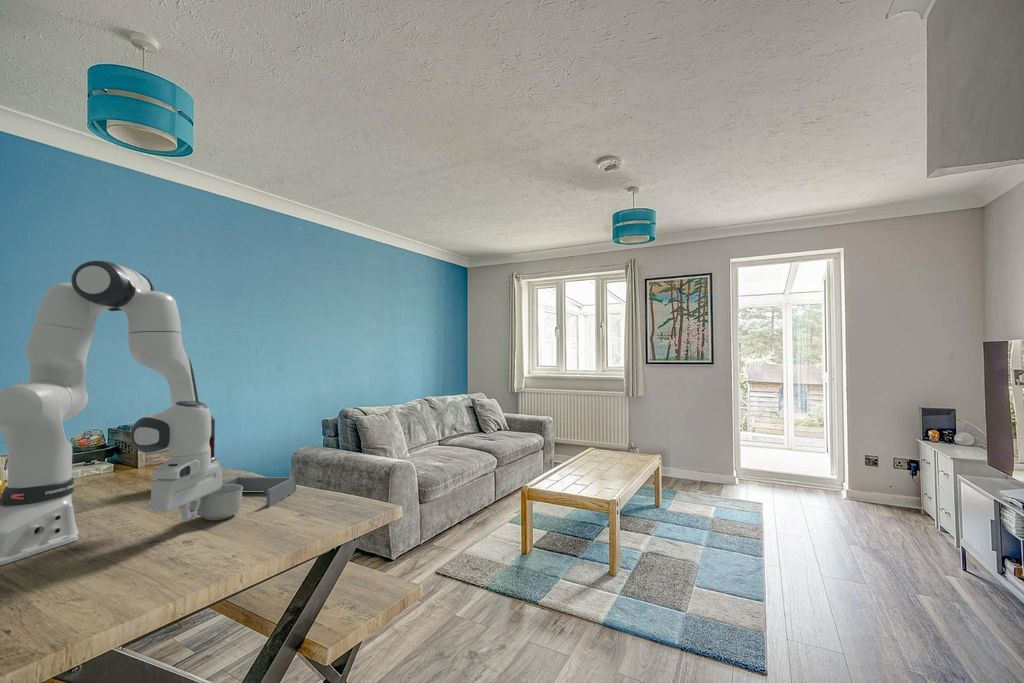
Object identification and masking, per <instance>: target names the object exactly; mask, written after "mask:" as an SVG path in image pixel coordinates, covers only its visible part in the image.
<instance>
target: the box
mask: <svg viewBox="0 0 1024 683" xmlns="http://www.w3.org/2000/svg"><path fill="white" fill-rule="evenodd" d="M222 484H238V485H241V486H242V487H243V490H242V491H264V492H267V493H266V504H265V505H266V506H271V505H273V504H274V505H276V504H277V502H278V501H280V500H282V499H283V498H285V497H287V496H288V495H290V494H292V493H294V492H295V491H296V490H297V477H296V476H236V477H234V478H231V479H228V480H226V481H222ZM296 492H297V491H296ZM294 494H295V493H294ZM292 495H293V494H292ZM290 496H291V495H290ZM287 498H288V497H287ZM285 499H286V498H285ZM283 500H284V499H283ZM283 500H282V501H283ZM280 502H281V501H280ZM275 503H276V504H275ZM278 503H279V502H278ZM274 505H273V506H274ZM271 507H272V506H271Z"/></svg>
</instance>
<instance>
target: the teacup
mask: <svg viewBox="0 0 1024 683" xmlns="http://www.w3.org/2000/svg"><path fill="white" fill-rule="evenodd" d="M242 490H243V487H242V486H241V485H238V484H222V487H221V489H220V490H219V491H216V492H214V493H211V494H209V495H207V496H204V497H202V498H201V502H200V505H199V507H198V509H197V516H198V517H202V518H204V520H207V521H221V520H226V518H227V519H229V518H231V517H233V516H234V515H235V514H236V513H238V511H239V510H240V509H241V507H242V501H243V500H242V499H243V493H242ZM190 504H191V503H190ZM189 507H190V506H189ZM189 507H188V508H189Z"/></svg>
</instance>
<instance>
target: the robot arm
mask: <svg viewBox="0 0 1024 683" xmlns="http://www.w3.org/2000/svg"><path fill="white" fill-rule="evenodd" d="M70 281H71V282H60V283H56V284H54V285H52V286H51V287H50V288H49V289H48V290H47V292H46V293H45V295H44V297H43V299H42V300H41V302H40V304H39V307H38V310H37V312H36V315H35V317H34V320H33V323H32V327H31V331H30V335H29V338H28V341H27V344H26V347H25V357H26V358H27V360H28V363H29V379H28V381H24V382H23V381H22V382H19V383H13V384H12V385H10V386H8V387H4V388H3V389H1V390H0V432H1V434H2V438H3V441H4V444H5V448H6V453H7V475H6V476H7V477H6V478H7V479H6V480H7V482H6V486H5V487H4V488H3V490H2V492H0V566H4V565H6V564H10V563H12V562H16V561H19V560H22V559H25V558H28V557H31V556H34V555H36V554H40V553H43V552H46V551H50V550H52V549H54V548H57V547H61V546H64V545H67V544H69V543H72V542H75V541H78V539H79V537H78V536H79V533H80V531H79V529H78V527H77V524H76V518H75V513H74V512H75V511H74V506H73V498H72V497H73V496H72V495H73V492H75V491H74V490H75V483H74V482H75V480H74V477H73V476H72V475H73V473H72V472H73V446H72V444H71V443H70V442H69V441H68V439H67V436H66V433H65V429H64V425H63V424H64V423H63V422H64V421H65V422H66V421H68V420H70V419H72V418H74V417H75V416H77V415H78V414H80V413H81V412H82V411H83V410H84V409H86V406H87V405H88V402H89V395H88V392H87V390H86V371H87V370H86V368H87V367H86V366H87V359H88V355H89V351H90V347H91V343H92V340H93V336H94V333H95V329H96V325H97V321H98V320H99V316H100V315H101V314H102V312H104V311H106V310H108V311H109V312H117V311H123V313H124V314H125V315H126V319H127V330H128V331H127V335H128V336H127V338H128V339H127V340H128V341H127V342H128V350H129V352H130V355H131V357H132V358H133V359H134V360H135V361H136V362H137V363H139V364H141V365H142V366H143V367H145V368H148V369H151V370H153V371H155V372H157V373H159V374H160V375H162V376H163V377H164V378H165V379H166V381H167V382H168V386H169V392H170V397H171V404H172V405H171V406H170V407H168V408H166V409H164V410H162V411H160V412H157V413H152V414H150V415H147V416H144V417H141V418H138V419H137V421H135V423H134V424H133V426H132V428H131V430H130V441H131V444H132V445H133V447H134V448H135V449H137V450H138V452H142V453H145V454H146V453H149V454H152V453H153V454H154V453H158V452H159V453H160V452H163V451H168V452H169V458H168V459H167V460H166V461H164V463H162V464H161V465H160V466H158V467H156V468H155V469H153V471H152V473H151V478H152V479H153V480H154V481H153V483H152V485H151V492H150V509H151V510H152V511H153V512H155V513H168V512H170V511H173V510H175V509H178V511H179V512H180V513H181V520H182V521H189V520H191V519H193V518H195V517H197V516H198V515H197V510H198V507H199V505H200V502H201V498H202V497H204V496H207V495H209V494H211V493H214V492H216V491H219V490H220V489H221V487H222V483H223V473H222V468H221V465H220V460H218V459H217V458H216V457H215V456H214V457H213V458H211V448H210V444H209V441H210V437H211V416H212V414H211V411H210V408H209V406H208V405H207V404H205V403H204V402H201V401H199V396H198V391H197V386H196V385H197V383H196V378H195V374H194V368H193V365H192V362H191V359H190V358H189V357H188V355H187V353H186V351H185V348H184V347H185V346H184V345H183V338H182V326H181V318H180V313H179V308H178V305H177V301H176V299H175V298H174V297H173V296H172V295H170V294H169V293H166V292H163V291H160V290H159V291H157V290H155V286H154V285H153V283H152V282H151V280H150V279H149V278H148V277H147V276H146V275H144V274H143V273H140V272H137V271H135V270H134V269H132V268H130V267H129V266H128V267H127V266H124V265H121V264H120V265H119V264H116V263H113V262H110V261H107V260H91V261H90V260H89V261H87V262H84V263H82V264H80V265H78V266H77V267H76V268H75V269H74V271H73V272H72V275H71V280H70ZM190 503H191V504H190ZM189 506H190V507H189ZM188 507H189V508H188Z"/></svg>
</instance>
